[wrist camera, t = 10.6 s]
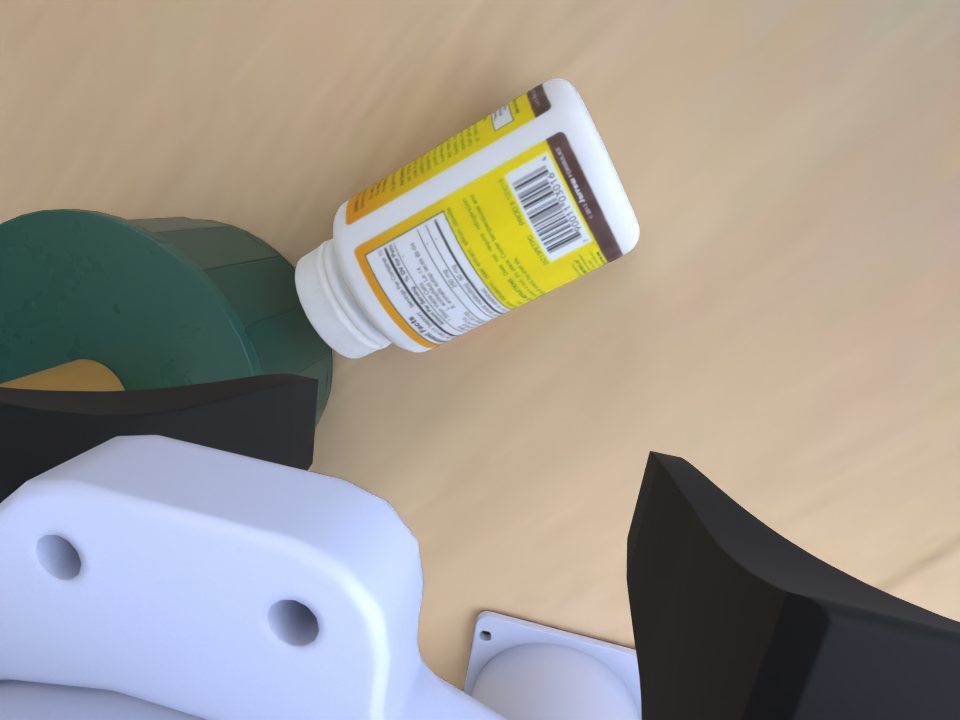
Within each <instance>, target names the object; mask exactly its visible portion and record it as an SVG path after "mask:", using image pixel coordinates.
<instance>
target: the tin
mask: <svg viewBox="0 0 960 720" xmlns="http://www.w3.org/2000/svg"><path fill="white" fill-rule="evenodd" d="M128 221H130V222H133V223H135V224H138V225H140V226H142V227H144V228H146V229H148V230H150V231H151V232H153V233H155V234H157V235H158V236H160V237H162V238H164V239H165V240H167V241H168V242H169V243H171V244H172V245H173V246H175V247H176V248H178V249H179V250H180V251H182V252H183V253H184V254H186V255H187V256H188V257H189V258H190V259H191V260H192V261H193V262H194V263H195V264H196V265H198V266H199V267H200V268H201V269H202V270H203V271H204V272H205V273H206V274H207V275H208V277H209V278H210V279H211V280H212V281H213V282H214V284H215V285H216V286H217V287H218V288H219V289H220V291H221V292H222V293H223V294H224V296H225V297H226V299H227V300H228V302H229V303H230V305H231V306H232V308H233V309H234V311H235V312H236V313H237V315H238V317H239V319H240V321H241V323H242V324H243V326H244V328H245V330H246V332H247V334H248V336H249V338H250V340H251V343H252V345H253V348H254V350H255V353H256V355H257V358H258V360H259V364H260V368H261V371H262V375H268V374H284V373H285V374H296V375H300V376H305V377H310V378H314V379H319V381H318V394H317V408H316V421H315V426H316V425H317V423H318V422H319V420H320V418H321V415H322V413H323V411H324V409H325V406H326V403H327V400H328V396H329V393H330V387H331V380H332V353H331V347H330V346H329V345H328V344H327V343H326V342H325V341H324V340H323V339H322V338H321V337H320V336H319V334H318V333H317V331H316V330H315V329H314V327H313V326H312V324H311V323H310V321H309V319H308V318H307V316H306V314H305V311H304V309H303V307H302V305H301V303H300V300H299V297H298V293H297V290H296V284H295V269H294V267H293V266H292V265H291V264H290V263H289V262H288V261H287V260H286V259H285V258H284V257H283V256H282V255H281V254H280V253H278V252H277V251H276V250H275V249H273V248H272V247H271V246H269V245H268V244H267V243H265V242H264V241H263V240H261V239H259V238H257V237H256V236H254V235H252V234H250V233H249V232H247V231H244V230H242V229H239V228H237V227H235V226H232V225H229V224H225V223H221V222H217V221H211V220H202V219H190V218H185V217H174V218H154V219H135V220H128Z"/></svg>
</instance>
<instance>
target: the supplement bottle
mask: <svg viewBox="0 0 960 720" xmlns="http://www.w3.org/2000/svg"><path fill="white" fill-rule="evenodd" d="M638 239H639V225H638V222H637V219H636V217H635V214H634V212H633V209H632V207H631V205H630V202H629V200H628V198H627V195H626V193H625V191H624V188H623V186H622V184H621V182H620V179H619V177H618V175H617V173H616V170H615V168H614V166H613V164H612V161H611V159H610V157H609V155H608V153H607V150H606V148H605V146H604V144H603V142H602V139H601V137H600V135H599V133H598V131H597V129H596V127H595V125H594V123H593V121H592V118H591V116H590V114H589V112H588V110H587V108H586V106H585V105H584V103H583V101H582V99H581V97H580V95H579V94H578V92H577V90H576V89H575V87H574V86H573V85H572V84H571V83H570V82H569V81H567V80H565V79H561V78H554V79H550V80H548V81H545V82H544V83H542V84H540V85H539V86H537V87H535V88H533V89H532V90H530V91H528V92H527V93H525V94H523V95H522V96H520V97H518V98H517V99H515V100H513V101H512V102H510V103H508V104H506V105H505V106H503V107H502V108H500V109H498V110H497V111H495V112H493V113H492V114H490V115H489V116H487V117H485V118H484V119H482V120H480V121H479V122H477V123H475V124H474V125H472V126H470V127H469V128H467V129H465V130H464V131H462V132H460V133H458V134H457V135H455V136H454V137H452V138H450V139H449V140H447V141H445V142H444V143H442V144H440V145H439V146H437V147H436V148H434V149H432V150H431V151H429V152H427V153H426V154H424V155H422V156H421V157H419V158H417V159H416V160H414V161H412V162H411V163H409V164H407V165H406V166H404V167H402V168H401V169H399V170H397V171H396V172H394V173H392V174H391V175H389V176H387V177H386V178H384V179H382V180H381V181H379V182H377V183H375V184H374V185H372V186H370V187H369V188H367V189H365V190H364V191H362V192H360V193H359V194H357V195H355V196H354V197H352V198H351V199H349V200H348V201H346V202H345V203H344V204H342V205H341V207H340V208H339V209H338V211H337V213H336V216H335V218H334V223H333V238H332V239H331V240H327V241H325V242H323V243H322V244H321V245H320V246H319V247H318V248H316V249H314V250H313V251H311V252H310V253H308V254H306V255H305V256H303V257H302V258H301V259H300V260H299V261H298V263H297V266H296V269H295V284H296V290H297V293H298V297H299V300H300V303H301V305H302V307H303V309H304V311H305V314H306V316H307V318H308V319H309V321H310V323H311V324H312V326H313V327H314V329H315V330H316V331H317V333H318V334H319V336H320V337H321V338H322V339H323V340H324V341H325V342H326V343H327V344H328V345H329V346H330V347H331V348H332V349H333V350H335V351H336V352H338V353H339V354H341V355H343V356H345V357H347V358H352V359H357V358H361V357H364V356H366V355H368V354H370V353H372V352H374V351H377V350H379V349H384V348H386V347H387V346H388V345H389V344H391V343H393V344H395V345H397V346H398V347H400V348H402V349H405V350H407V351H411V352H424V351H428V350H430V349H433V348H435V347H437V346H439V345H441V344H443V343H445V342H447V341H449V340H451V339H453V338H455V337H457V336H459V335H461V334H463V333H466V332H468V331H470V330H472V329H474V328H476V327H478V326H480V325H482V324H484V323H486V322H488V321H490V320H492V319H494V318H496V317H498V316H500V315H502V314H505V313H506V312H508V311H510V310H512V309H515V308H517V307H519V306H521V305H523V304H525V303H527V302H529V301H531V300H533V299H535V298H537V297H539V296H541V295H543V294H545V293H547V292H549V291H551V290H553V289H556V288H558V287H560V286H562V285H564V284H566V283H568V282H570V281H572V280H574V279H576V278H578V277H580V276H582V275H584V274H586V273H588V272H590V271H592V270H594V269H597V268H599V267H601V266H603V265H605V264H607V263H609V262H611V261H613V260H615V259H618V258H619V257H621V256H623V255H624V254H626V253H628V252H629V251H631V250H632V249H633V248H634V246H635V245H636V243H637V241H638Z"/></svg>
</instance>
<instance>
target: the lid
mask: <svg viewBox="0 0 960 720" xmlns="http://www.w3.org/2000/svg"><path fill="white" fill-rule="evenodd" d="M259 375H262V371H261V368H260V364H259V360H258V358H257V355H256V353H255V350H254V348H253V345H252V343H251V340H250V338H249V336H248V334H247V332H246V330H245V328H244V326H243V324H242V323H241V321H240V319H239V317H238V315H237V313H236V312H235V311H234V309H233V308H232V306H231V305H230V303H229V302H228V300H227V299H226V297H225V296H224V294H223V293H222V292H221V291H220V289H219V288H218V287H217V286H216V285H215V284H214V282H213V281H212V280H211V279H210V278H209V277H208V275H207V274H206V273H205V272H204V271H203V270H202V269H201V268H200V267H199V266H198V265H196V264H195V263H194V262H193V261H192V260H191V259H190V258H189V257H188V256H187V255H186V254H184V253H183V252H182V251H180V250H179V249H178V248H176V247H175V246H173V245H172V244H171V243H169V242H168V241H167V240H165V239H164V238H162V237H160V236H158V235H157V234H155V233H153V232H151V231H150V230H148V229H146V228H144V227H142V226H140V225H138V224H135V223H133V222H130V221H128V220H125V219H123V218H120V217H117V216H113V215H109V214H105V213H101V212H98V211H89V210H80V209H59V210H42V211H37V212H33V213H28V214H24V215H21V216H18V217H16V218H13V219H11V220H8V221H6V222H4V223H2V224H0V387H5V388H17V389H33V390H54V391H125V390H144V389H157V388H168V387H176V386H185V385H193V384H201V383H209V382H217V381H223V380H230V379H237V378H244V377H251V376H259Z"/></svg>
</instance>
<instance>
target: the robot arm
mask: <svg viewBox="0 0 960 720" xmlns="http://www.w3.org/2000/svg"><path fill="white" fill-rule="evenodd" d="M318 381H319V379H314V378H310V377H305V376H300V375H296V374H285V373H284V374H268V375H259V376H251V377H244V378H237V379H230V380H223V381H217V382H209V383H201V384H193V385H185V386H176V387H168V388H157V389H144V390H125V391H54V390H33V389H17V388H5V387H0V720H960V622H957V621H954V620H952V619H949V618H946V617H943V616H941V615H938V614H935V613H933V612H931V611H928V610H926V609H923V608H921V607H919V606H916V605H914V604H911V603H909V602H906V601H904V600H902V599H899V598H897V597H894V596H892V595H890V594H888V593H886V592H883V591H881V590H879V589H877V588H875V587H872V586H870V585H868V584H866V583H864V582H862V581H860V580H858V579H856V578H854V577H852V576H850V575H848V574H846V573H844V572H842V571H840V570H838V569H837V568H835V567H833V566H831V565H829V564H827V563H825V562H824V561H822V560H820V559H818V558H816V557H815V556H813V555H811V554H810V553H808V552H806V551H805V550H803V549H801V548H800V547H798V546H797V545H795V544H793V543H792V542H790V541H789V540H787V539H785V538H784V537H782V536H781V535H779V534H778V533H776V532H775V531H773V530H772V529H771V528H769V527H768V526H766V525H765V524H764V523H762V522H761V521H760V520H758V519H757V518H756V517H754V516H753V515H752V514H750V513H749V512H748V511H746V510H745V509H744V508H743V507H741V506H740V505H739V504H738V503H736V502H735V501H734V500H733V499H731V498H730V497H729V496H728V495H727V494H725V493H724V492H723V491H722V490H721V489H720V488H718V487H717V486H716V485H715V484H714V483H713V482H711V481H710V480H709V479H708V478H707V477H706V476H705V475H703V474H702V473H701V472H700V471H699V470H698V469H696V468H695V467H694V466H693V465H691V464H690V463H689V462H687V461H686V460H684V459H683V458H680V457H676V456H671V455H666V454H662V453H657V452H653V451H650V453H649V457H648V461H647V465H646V469H645V472H644V476H643V480H642V484H641V488H640V492H639V496H638V499H637V503H636V507H635V511H634V515H633V519H632V523H631V527H630V530H629V534H628V539H627V585H628V594H629V602H630V610H631V617H632V625H633V632H634V640H635V647H636V650H635V649H631V648H627V647H623V646H619V645H616V644H612V643H608V642H604V641H600V640H597V639H593V638H589V637H585V636H581V635H578V634H574V633H570V632H566V631H562V630H559V629H555V628H551V627H547V626H544V625H540V624H536V623H532V622H528V621H525V620H521V619H517V618H513V617H509V616H506V615H502V614H498V613H494V612H490V611H484V612H481V613H480V614H479V615H478V618H477V621H476V625H475V631H474V636H473V642H472V647H471V653H470V659H469V664H468V670H467V675H466V681H465V686H464V692H463V691H461V690H459V689H458V688H456V687H454V686H453V685H451V684H450V683H448V682H446V681H445V680H443V679H441V678H440V677H438V676H437V675H435V674H434V673H433V672H432V671H431V670H430V669H429V668H428V666H427V665H426V664H425V663H424V661H423V660H422V658H421V655H420V652H419V648H418V622H419V615H420V608H421V601H422V595H423V588H424V580H423V573H422V566H421V560H420V553H419V546H418V540H417V539H416V538H415V536H414V535H413V534H412V533H411V531H410V530H409V529H408V527H407V526H406V525H405V523H404V522H403V521H402V519H401V518H400V517H399V516H398V514H397V513H396V512H395V510H394V509H393V508H392V506H391V505H390V504H389V502H387V501H385V500H383V499H381V498H379V497H377V496H375V495H373V494H371V493H369V492H367V491H365V490H363V489H361V488H359V487H358V486H356V485H354V484H352V483H350V482H348V481H346V480H343V479H339V478H335V477H331V476H326V475H322V474H318V473H314V472H310V471H307V470H308V469H309V467H310V466H311V464H312V461H313V448H314V435H315V421H316V408H317V394H318ZM482 631H487V632H489V633H490V635H486V634H484V633H483V632H482Z"/></svg>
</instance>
